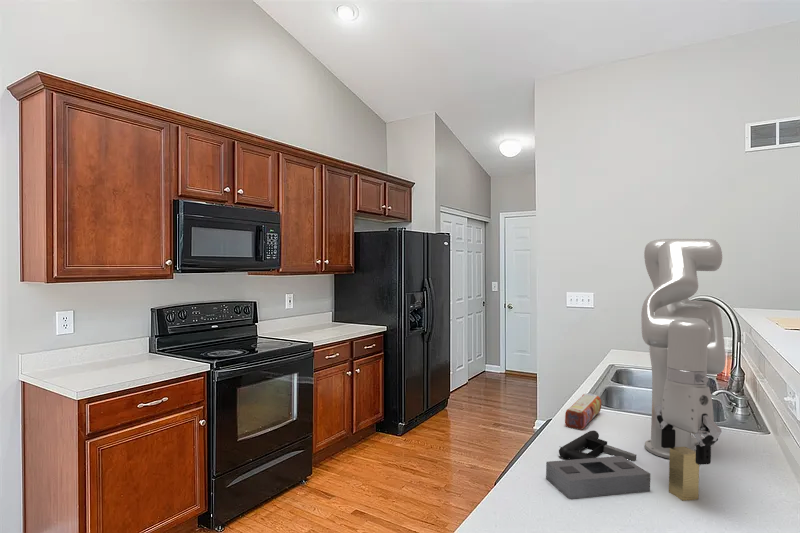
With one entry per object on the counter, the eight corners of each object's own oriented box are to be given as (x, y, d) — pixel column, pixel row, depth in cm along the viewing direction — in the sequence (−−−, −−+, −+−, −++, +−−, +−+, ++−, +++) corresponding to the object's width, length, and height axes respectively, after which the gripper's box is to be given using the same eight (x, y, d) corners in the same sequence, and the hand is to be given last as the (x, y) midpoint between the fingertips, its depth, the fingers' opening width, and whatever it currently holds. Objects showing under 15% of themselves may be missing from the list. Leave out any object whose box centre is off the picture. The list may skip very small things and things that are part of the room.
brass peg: (683, 490, 109) (684, 446, 109) (698, 499, 106) (699, 453, 105) (668, 492, 109) (669, 447, 108) (682, 500, 105) (683, 454, 105)
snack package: (584, 432, 147) (585, 410, 147) (562, 427, 150) (563, 405, 150) (601, 414, 164) (602, 394, 164) (581, 410, 168) (582, 391, 168)
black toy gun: (644, 445, 130) (586, 427, 142) (615, 467, 116) (553, 445, 127) (643, 457, 130) (585, 438, 142) (614, 481, 116) (552, 457, 128)
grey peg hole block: (620, 472, 118) (621, 455, 118) (649, 491, 109) (650, 473, 109) (546, 478, 114) (546, 461, 114) (569, 499, 105) (569, 480, 104)
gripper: (735, 385, 99) (734, 470, 98) (671, 369, 116) (669, 441, 115) (704, 386, 97) (702, 472, 97) (643, 369, 114) (642, 442, 114)
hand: (684, 455), depth 106 cm, fingers open, 9 cm apart
